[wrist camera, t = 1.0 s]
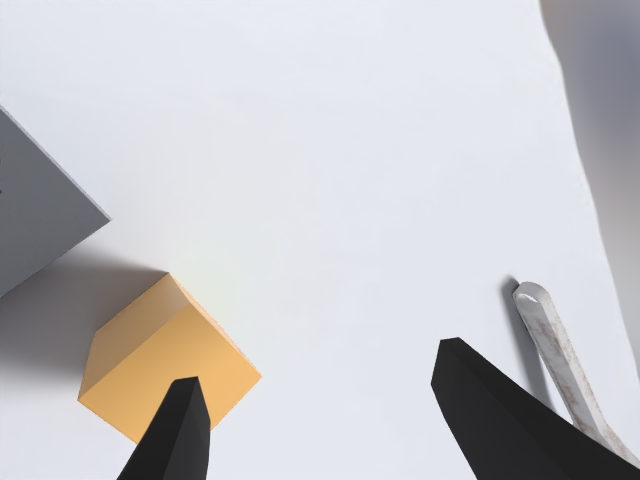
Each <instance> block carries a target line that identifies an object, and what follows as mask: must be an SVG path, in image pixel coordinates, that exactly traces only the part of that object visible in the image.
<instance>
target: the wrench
mask: <svg viewBox="0 0 640 480" xmlns="http://www.w3.org/2000/svg"><path fill="white" fill-rule="evenodd" d="M524 294H527V295H529V296H531V297H533V298H534V299H535V300H536V301H538V303H537V302H534V301H532V300H530V299H529V298H527V297H526V296H525V295H524ZM512 296H513V299H514V302H515V305H516V307H517V309H518V311H519V313H520V316H521V317H522V319H523V321H524V323H525V325H526V327H527V329H528V331H529V333H530V335H531V337H532V339H533V341H534V343H535V345H536V347H537V349H538V351H539V353H540V355H541V357H542V359H543V361H544V363H545V365H546V367H547V369H548V371H549V373H550V375H551V377H552V379H553V381H554V383H555V385H556V387H557V389H558V391H559V393H560V395H561V397H562V399H563V401H564V403H565V405H566V408H567V410H568V412H569V414H570V416H571V418H572V420H573V426H574V427H576V428H577V429H578V430H580V431H581V432H583V433H584V434H586V435H587V436H589V437H590V438H592V439H593V440H595V441H596V442H598V443H599V444H601V445H603V446H604V447H606V448H607V449H609V450H610V451H612V452H613V453H615V454H617V455H618V456H620V457H621V458H623V459H624V460H626V461H628V462H629V463H631V464H632V465H634V466H636V467H637V468H639V469H640V461H639V460H638V459H637V458H636V457H635V455H634V454H633V453H632V452H631V451H630V450H629V449H628V448H627V447H626V446H625V445H624V444H623V442H622V441H621V440H620V439H619V438H618V436H617V435H616V434H615V433H614V431H613V430H612V429H611V428H610V427H609V425H608V424H607V423H606V421H605V419H604V417H603V415H602V412H601V410H600V408H599V406H598V403H597V401H596V399H595V397H594V394H593V392H592V390H591V387H590V385H589V383H588V381H587V378H586V376H585V374H584V372H583V369H582V367H581V365H580V363H579V360H578V358H577V356H576V354H575V351H574V349H573V347H572V345H571V342H570V340H569V338H568V335H567V333H566V331H565V329H564V326H563V324H562V322H561V320H560V317H559V315H558V313H557V311H556V308H555V306H554V304H553V302H552V299H551V297H550V295H549V293H548V292H547V291H546V290H545V289H544V288H543V287H542V286H540V285H538V284H536V283H533V282H523V283H521V284H520V285H519V287H518V288H517V289H516V290H515V291H514V293H513V294H512Z"/></svg>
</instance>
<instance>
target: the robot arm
mask: <svg viewBox="0 0 640 480" xmlns="http://www.w3.org/2000/svg"><path fill="white" fill-rule="evenodd" d="M431 386H432V389H433V391H434V394H435V397H436V399H437V402H438V404H439V407H440V409H441V411H442V414H443V416H444V418H445V420H446V422H447V424H448V426H449V428H450V430H451V432H452V434H453V435H454V437H455V439H456V441H457V443H458V445H459V447H460V448H461V450H462V452H463V454H464V456H465V458H466V460H467V461H468V463H469V465H470V467H471V469H472V471H473V472H474V474H475V476H476V478H477V480H640V469H639V468H637V467H636V466H634V465H632V464H631V463H629V462H628V461H626V460H624V459H623V458H621V457H620V456H618V455H617V454H615V453H613V452H612V451H610V450H609V449H607V448H606V447H604V446H603V445H601V444H599V443H598V442H596V441H595V440H593V439H592V438H590V437H589V436H587V435H586V434H584V433H583V432H581V431H580V430H578V429H577V428H576V427H574V426H573V425H571V424H570V423H569V422H567V421H566V420H564V419H563V418H562V417H560V416H559V415H557V414H556V413H555V412H553V411H552V410H550V409H549V408H548V407H546V406H545V405H544V404H542V403H541V402H540V401H538V400H537V399H536V398H534V397H533V396H532V395H530V394H529V393H528V392H527V391H525V390H524V389H523V388H521V387H520V386H519V385H518V384H516V383H515V382H514V381H512V380H511V379H510V378H509V377H507V376H506V375H505V374H504V373H502V372H501V371H500V370H499V369H497V368H496V367H495V366H494V365H493V364H491V363H490V362H489V361H488V360H486V359H485V358H484V357H483V356H482V355H480V354H479V353H478V352H477V351H475V350H474V349H473V348H472V347H471V346H469V345H468V344H467V343H466V342H464V341H463V340H462V339H461V338H459V337H457V338H450V339H443V340H440V344H439V349H438V353H437V358H436V362H435V367H434V371H433V376H432V380H431ZM210 427H211V420H210V416H209V413H208V410H207V406H206V403H205V399H204V396H203V392H202V389H201V385H200V382H199V378H198V376H194V377H188V378H181V379H175V380H174V381H173V382H172V383H171V385H170V387H169V389H168V391H167V393H166V395H165V397H164V399H163V400H162V402H161V404H160V406H159V408H158V410H157V412H156V414H155V415H154V417H153V419H152V421H151V423H150V424H149V426H148V428H147V430H146V431H145V433H144V435H143V437H142V438H141V440H140V442H139V443H138V445H137V447H136V448H135V450H134V452H133V454H132V455H131V457H130V459H129V460H128V462H127V464H126V465H125V467H124V469H123V470H122V472H121V473H120V475H119V477H118V478H117V480H206V475H207V468H208V461H209V446H210Z"/></svg>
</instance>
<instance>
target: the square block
mask: <svg viewBox="0 0 640 480" xmlns="http://www.w3.org/2000/svg"><path fill="white" fill-rule="evenodd" d="M194 376H198V378H199V382H200V385H201V389H202V392H203V396H204V399H205V403H206V406H207V410H208V413H209V416H210V420H211V427H210V431H211V430H212V429H213V428H214V427H215V426H216V425H217V424H218V423H219V422H220V421H221V419H222V418H223V417H224V416H225V415H226V414H227V413H228V412H229V411H230V410H231V409H232V408H233V407H234V406H235V405H236V404H237V403H238V402H239V401H240V399H241V398H242V397H243V396H244V395H245V394H246V393H247V392H248V391H249V390H250V389H251V388H252V387H253V386H254V385H255V384H256V383H257V382H258V380H259V379H260V378H261V377H262V376H261V374H260V373H259V372H258V371H257V370H256V368H255V367H254V366H253V365H252V363H251V362H250V361H249V360H248V359H247V357H246V356H245V355H244V354H243V353H242V351H241V350H240V349H239V348H238V347H237V345H236V344H235V343H234V342H233V340H232V339H231V338H230V337H229V336H228V334H227V333H226V332H225V331H224V330H223V328H222V327H221V326H220V325H219V324H218V323H217V322H216V321H215V320H214V319H213V318H212V317H211V316H210V315H209V314H208V312H207V311H206V310H205V309H204V308H203V307H202V306H201V305H200V304H199V303H198V302H197V301H196V300H195V299H194V298H193V297H192V296H191V295H190V294H189V293H188V292H187V291H186V290H185V289H184V288H183V287H182V285H181V284H180V283H179V282H178V281H177V280H176V279H175V278H174V277H173V276H172V275H171V274H170V273H167V274H166V275H165V276H164V277H162V278H161V279H160V280H159V281H158V282H156V283H155V284H154V285H153V286H151V287H150V288H149V289H148V290H146V291H145V292H144V293H143V294H141V295H140V296H139V297H138V298H136V299H135V300H134V301H133V302H132V303H130V304H129V305H128V306H127V307H125V308H124V309H123V310H122V311H120V312H119V313H118V314H117V315H115V316H114V317H113V318H112V319H110V320H109V321H108V322H107V323H106V324H104V325H103V326H102V327H101V328H99V329H98V330H97V331H96V332H95V333H94V337H93V341H92V345H91V349H90V353H89V356H88V360H87V364H86V368H85V372H84V376H83V380H82V384H81V387H80V391H79V395H78V399H77V401H79V402H80V403H81V404H83V405H84V406H85V407H87V408H88V409H90V410H91V411H92V412H94V413H95V414H96V415H98V416H99V417H101V418H102V419H103V420H105V421H106V422H107V423H109V424H110V425H112V426H113V427H114V428H116V429H117V430H118V431H120V432H121V433H122V434H124V435H125V436H127V437H128V438H129V439H131V440H132V441H133V442H135V443H136V444H138V443H139V442H140V440H141V438H142V437H143V435H144V433H145V431H146V430H147V428H148V426H149V424H150V423H151V421H152V419H153V417H154V415H155V414H156V412H157V410H158V408H159V406H160V404H161V402H162V400H163V399H164V397H165V395H166V393H167V391H168V389H169V387H170V385H171V383H172V382H173V381H174V380H175V379H181V378H188V377H194Z"/></svg>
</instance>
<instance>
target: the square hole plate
mask: <svg viewBox="0 0 640 480" xmlns="http://www.w3.org/2000/svg"><path fill="white" fill-rule="evenodd" d="M0 190H1V191H2V193H0V298H1V297H2V296H3V295H5V294H6V293H8V292H9V291H11V290H12V289H14V288H15V287H16V286H18V285H19V284H21V283H22V282H24V281H25V280H26V279H28V278H29V277H31V276H32V275H34V274H35V273H36V272H38V271H39V270H41V269H42V268H44V267H45V266H47V265H48V264H49V263H51V262H52V261H54V260H55V259H57V258H58V257H59V256H61V255H62V254H64V253H65V252H67V251H68V250H70V249H71V248H72V247H74V246H75V245H77V244H78V243H80V242H81V241H82V240H84V239H85V238H87V237H88V236H90V235H91V234H92V233H94V232H95V231H97V230H98V229H100V228H101V227H103V226H104V225H105V224H107V223H108V222H110V221H111V220H112V219H111V218H110V217H109V216H108V215H107V214H106V213H105V212H104V211H103V210H102V209H101V208H100V207H99V206H98V205H97V204H96V203H95V202H94V201H93V200H92V198H91V197H90V196H89V195H88V194H87V193H86V192H85V191H84V190H83V189H82V188H81V187H80V186H79V185H78V184H77V183H76V182H75V181H74V180H73V179H72V178H71V177H70V176H69V175H68V174H67V173H66V172H65V171H64V170H63V169H62V168H61V167H60V166H59V165H58V163H57V162H56V161H55V160H54V159H53V158H52V157H51V156H50V155H49V154H48V153H47V152H46V151H45V150H44V149H43V148H42V147H41V146H40V145H39V144H38V143H37V142H36V141H35V140H34V139H33V138H32V137H31V136H30V135H29V134H28V133H27V132H26V131H25V130H24V128H23V127H22V126H21V125H20V124H19V123H18V122H17V121H16V120H15V119H14V118H13V117H12V116H11V115H10V114H9V113H8V112H7V111H6V110H5V109H4V108H3V107H2V106H1V105H0Z"/></svg>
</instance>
